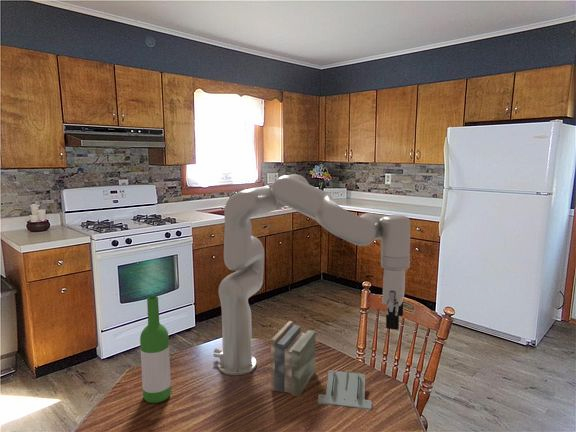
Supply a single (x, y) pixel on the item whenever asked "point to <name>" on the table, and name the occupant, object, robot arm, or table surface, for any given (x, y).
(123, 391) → the table surface
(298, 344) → the book row
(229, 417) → the table surface
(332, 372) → the metal bracket
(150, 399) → the wine bottle
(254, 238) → the robot arm
